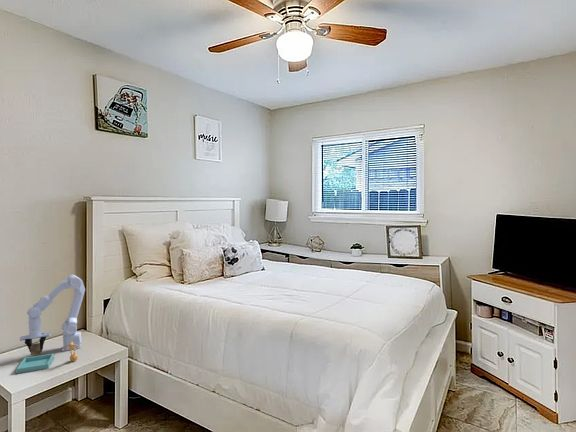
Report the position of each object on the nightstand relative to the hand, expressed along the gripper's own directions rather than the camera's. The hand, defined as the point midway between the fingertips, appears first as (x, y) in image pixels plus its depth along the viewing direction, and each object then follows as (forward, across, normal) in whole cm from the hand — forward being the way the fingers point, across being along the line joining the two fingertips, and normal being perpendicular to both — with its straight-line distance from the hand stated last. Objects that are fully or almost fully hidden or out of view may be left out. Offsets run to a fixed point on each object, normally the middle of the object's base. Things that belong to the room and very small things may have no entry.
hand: (36, 350), depth 206 cm
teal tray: (+3, -3, +13) cm, 14 cm away
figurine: (+4, -21, +16) cm, 27 cm away
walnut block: (+1, 0, 0) cm, 1 cm away
